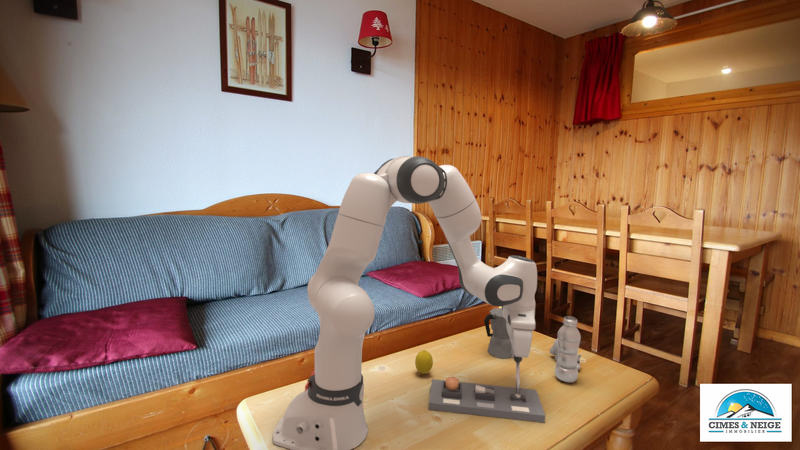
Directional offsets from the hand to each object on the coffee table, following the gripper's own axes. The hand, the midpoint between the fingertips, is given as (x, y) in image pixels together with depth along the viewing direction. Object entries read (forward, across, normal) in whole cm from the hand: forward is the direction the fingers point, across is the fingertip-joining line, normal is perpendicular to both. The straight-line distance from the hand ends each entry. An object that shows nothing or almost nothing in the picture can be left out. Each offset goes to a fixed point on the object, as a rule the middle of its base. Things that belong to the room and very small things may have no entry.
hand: (515, 357), depth 111 cm
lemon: (+11, -4, -27) cm, 29 cm away
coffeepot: (+11, -23, -2) cm, 26 cm away
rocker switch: (+7, +8, -9) cm, 14 cm away
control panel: (+10, +8, -9) cm, 16 cm away
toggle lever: (+8, +8, 0) cm, 11 cm away
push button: (+7, +8, -18) cm, 21 cm away
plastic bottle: (+11, -9, +17) cm, 22 cm away
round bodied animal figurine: (+11, -20, +20) cm, 31 cm away
